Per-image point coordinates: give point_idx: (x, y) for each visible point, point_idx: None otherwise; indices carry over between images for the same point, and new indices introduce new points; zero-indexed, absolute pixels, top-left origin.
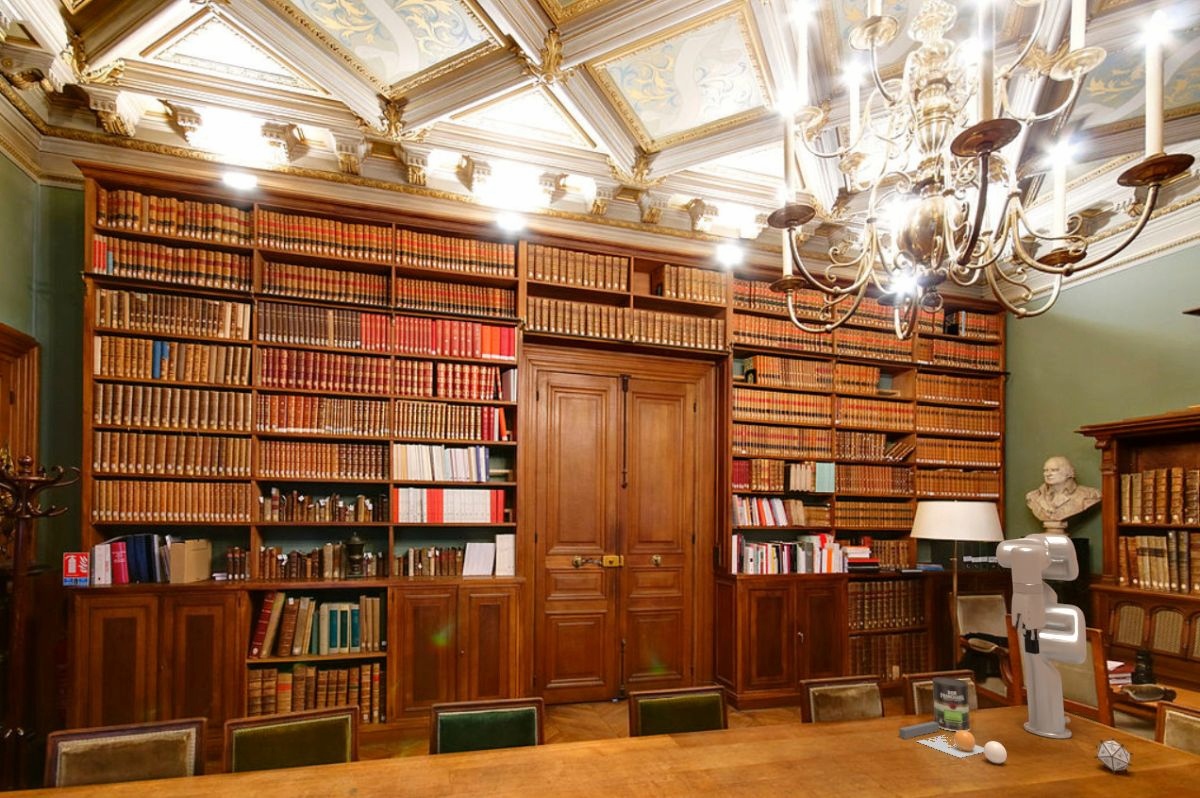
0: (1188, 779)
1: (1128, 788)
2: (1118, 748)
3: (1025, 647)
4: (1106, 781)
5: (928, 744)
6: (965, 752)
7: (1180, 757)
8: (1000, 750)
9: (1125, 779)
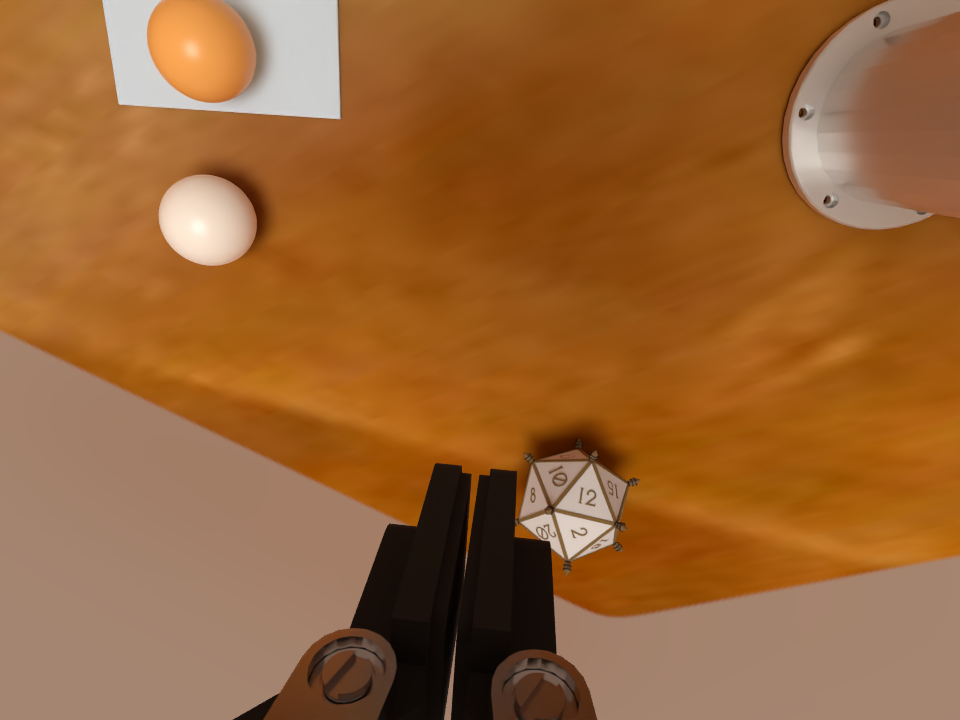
0: (693, 601)
1: None
2: (554, 548)
3: (427, 501)
4: None
5: None
6: None
7: (944, 537)
8: (187, 258)
9: None
